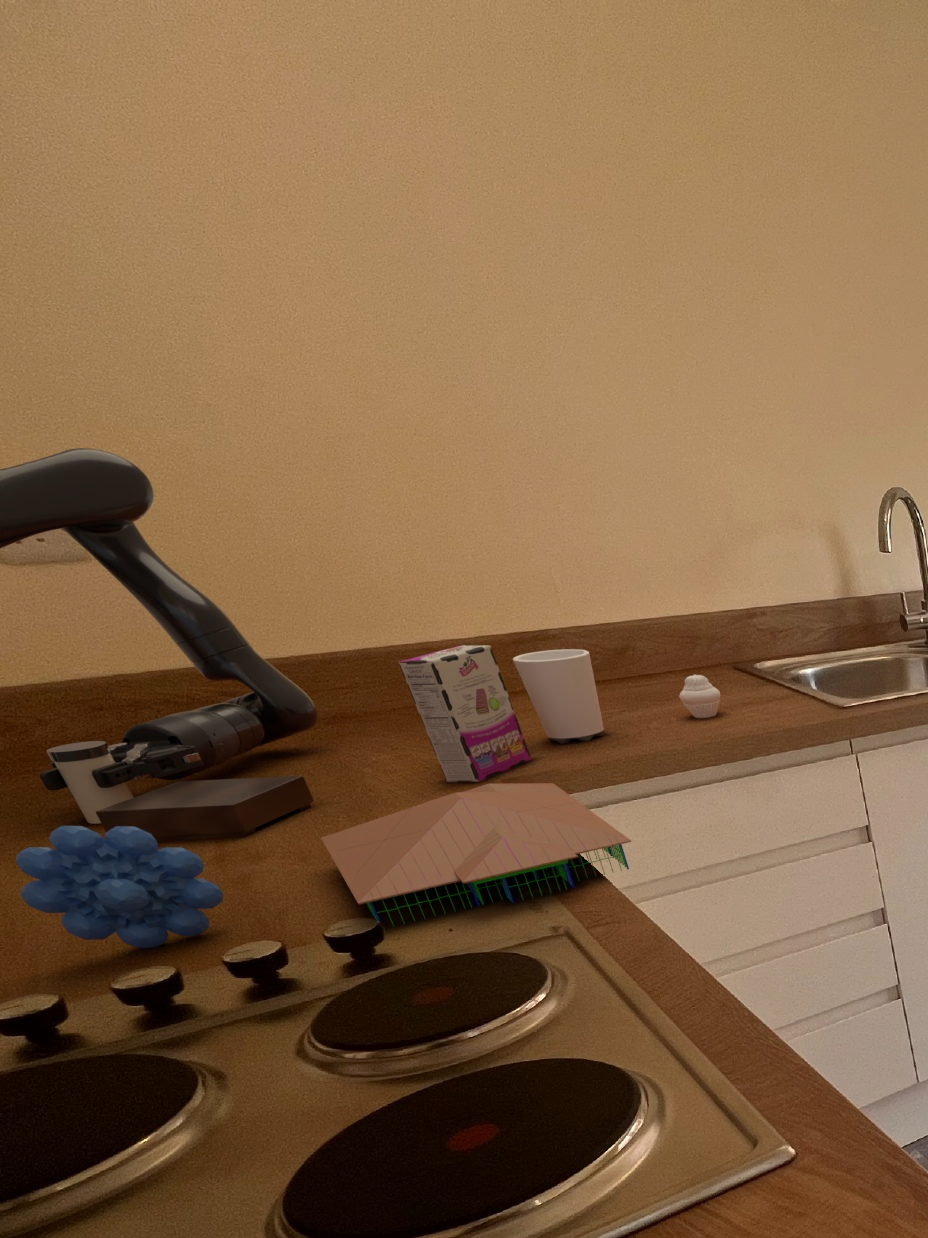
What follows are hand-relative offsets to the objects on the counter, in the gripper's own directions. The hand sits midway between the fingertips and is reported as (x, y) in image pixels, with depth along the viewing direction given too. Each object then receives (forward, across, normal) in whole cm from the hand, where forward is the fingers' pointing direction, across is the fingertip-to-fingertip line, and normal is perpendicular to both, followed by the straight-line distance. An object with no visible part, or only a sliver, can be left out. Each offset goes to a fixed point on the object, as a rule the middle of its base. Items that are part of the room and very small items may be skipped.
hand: (73, 781), depth 124 cm
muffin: (-46, +55, +6) cm, 72 cm away
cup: (-34, +40, +6) cm, 53 cm away
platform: (+3, +15, +6) cm, 16 cm away
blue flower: (+42, +36, +6) cm, 55 cm away
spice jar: (-3, 0, +6) cm, 6 cm away
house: (+24, +55, +6) cm, 60 cm away
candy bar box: (-16, +36, +6) cm, 40 cm away
